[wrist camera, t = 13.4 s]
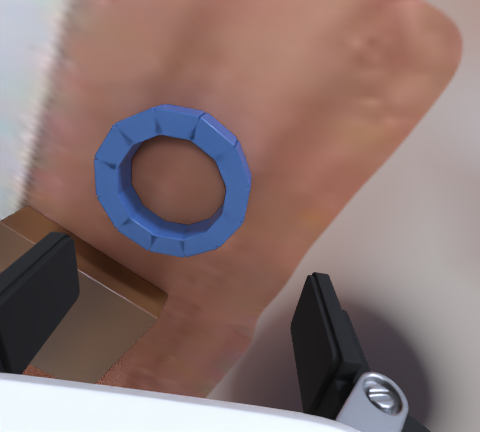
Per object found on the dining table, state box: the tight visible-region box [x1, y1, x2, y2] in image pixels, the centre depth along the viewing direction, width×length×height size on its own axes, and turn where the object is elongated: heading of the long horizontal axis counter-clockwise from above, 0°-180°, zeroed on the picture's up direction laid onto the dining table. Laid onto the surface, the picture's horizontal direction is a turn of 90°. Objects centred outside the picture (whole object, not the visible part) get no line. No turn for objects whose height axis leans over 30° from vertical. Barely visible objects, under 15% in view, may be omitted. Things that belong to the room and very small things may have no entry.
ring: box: [94, 104, 251, 257], centre depth 21 cm, size 11×11×2 cm
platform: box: [0, 206, 168, 384], centre depth 27 cm, size 14×14×3 cm
